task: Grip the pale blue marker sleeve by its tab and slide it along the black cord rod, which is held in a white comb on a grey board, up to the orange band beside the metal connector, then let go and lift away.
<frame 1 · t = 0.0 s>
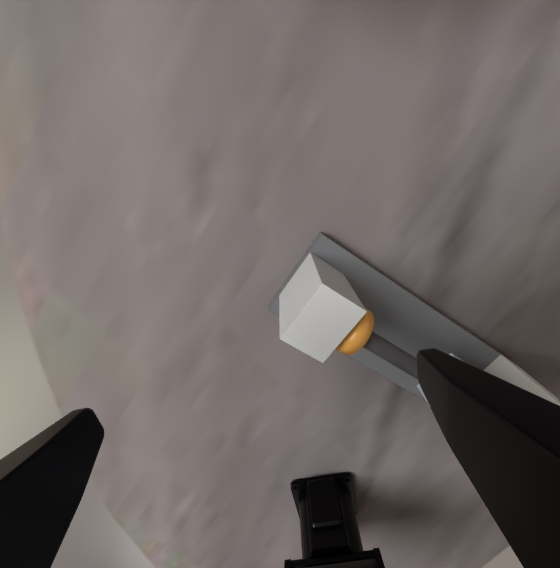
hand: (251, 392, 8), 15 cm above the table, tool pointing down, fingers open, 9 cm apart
cord board: (396, 334, 24), on the table
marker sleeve: (490, 424, 19), point 7 cm above the table, slide at -4.5 cm
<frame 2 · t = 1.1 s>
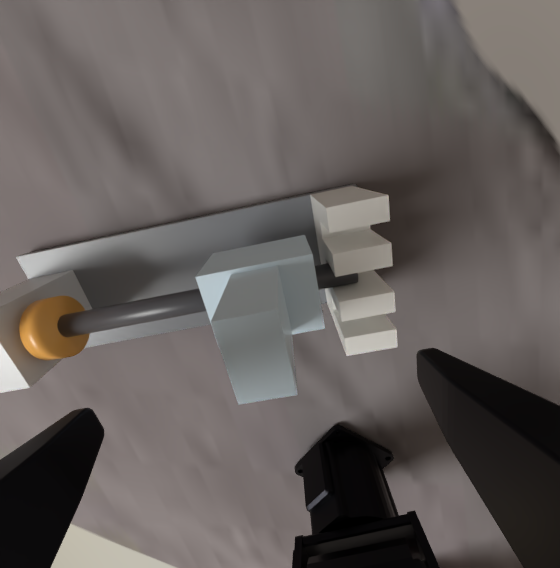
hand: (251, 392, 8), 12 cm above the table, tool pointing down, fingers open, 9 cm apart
cord board: (201, 271, 19), on the table
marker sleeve: (262, 305, 12), point 7 cm above the table, slide at -4.5 cm
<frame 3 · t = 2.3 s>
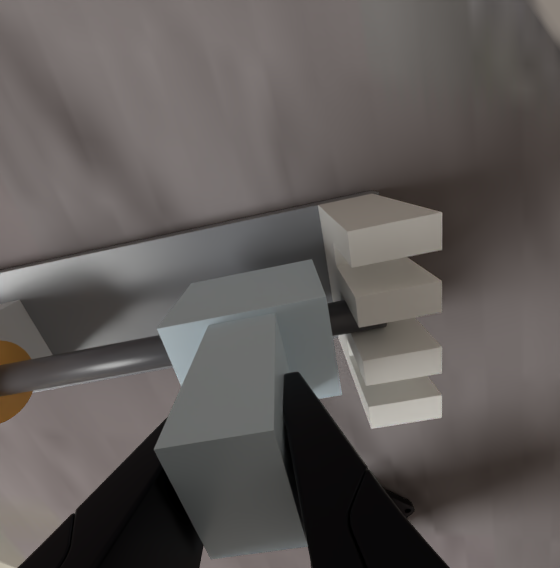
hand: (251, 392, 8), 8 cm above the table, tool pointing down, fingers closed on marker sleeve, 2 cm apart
cord board: (182, 298, 16), on the table
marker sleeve: (254, 367, 9), point 7 cm above the table, slide at -4.5 cm, touching gripper
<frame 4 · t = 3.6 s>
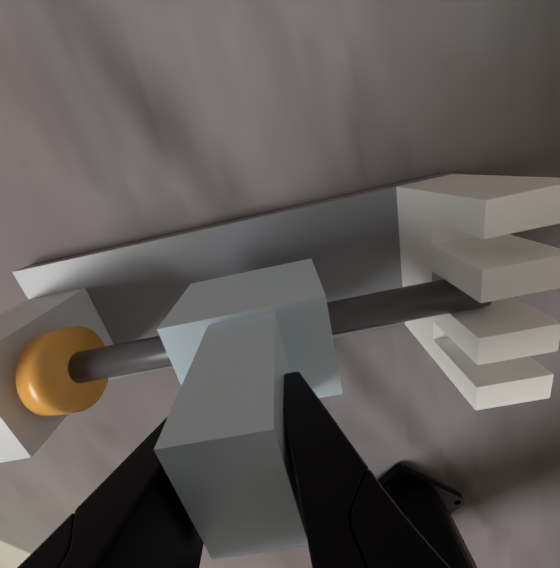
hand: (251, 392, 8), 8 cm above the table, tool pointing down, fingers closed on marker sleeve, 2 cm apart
cord board: (245, 286, 15), on the table
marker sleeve: (254, 367, 9), point 7 cm above the table, slide at -1.0 cm, touching gripper
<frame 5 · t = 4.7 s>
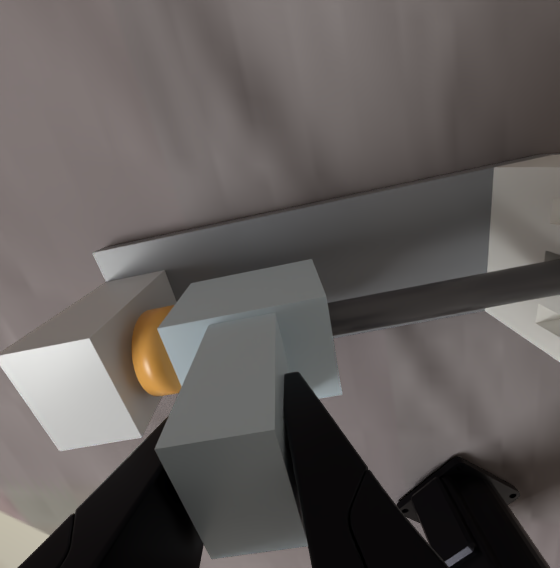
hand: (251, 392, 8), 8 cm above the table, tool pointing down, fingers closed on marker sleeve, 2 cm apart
cord board: (322, 271, 15), on the table
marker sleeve: (254, 367, 9), point 7 cm above the table, slide at 3.1 cm, touching gripper
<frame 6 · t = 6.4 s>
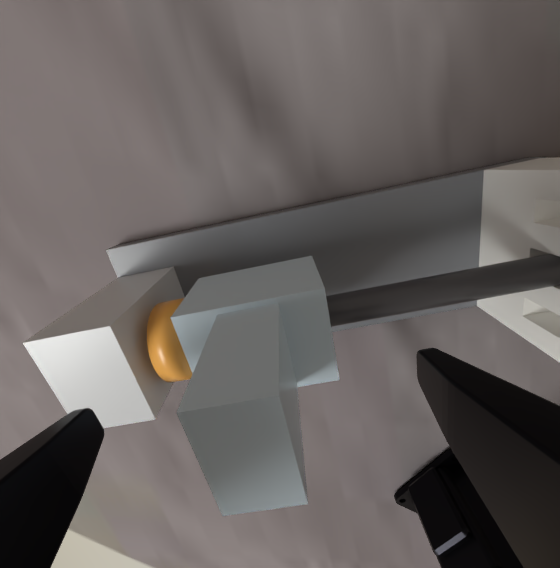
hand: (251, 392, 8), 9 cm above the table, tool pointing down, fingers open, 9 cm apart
cord board: (322, 267, 16), on the table
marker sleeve: (258, 353, 10), point 7 cm above the table, slide at 3.1 cm
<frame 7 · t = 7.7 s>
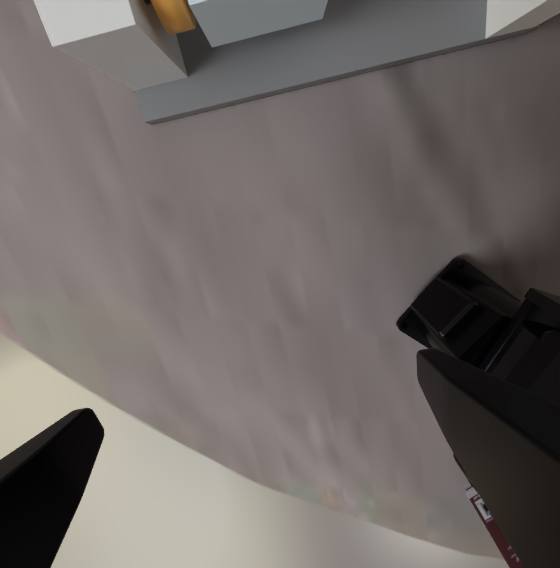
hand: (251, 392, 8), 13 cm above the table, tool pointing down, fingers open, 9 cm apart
cord board: (320, 2, 15), on the table
supplement box: (505, 492, 30), on the table
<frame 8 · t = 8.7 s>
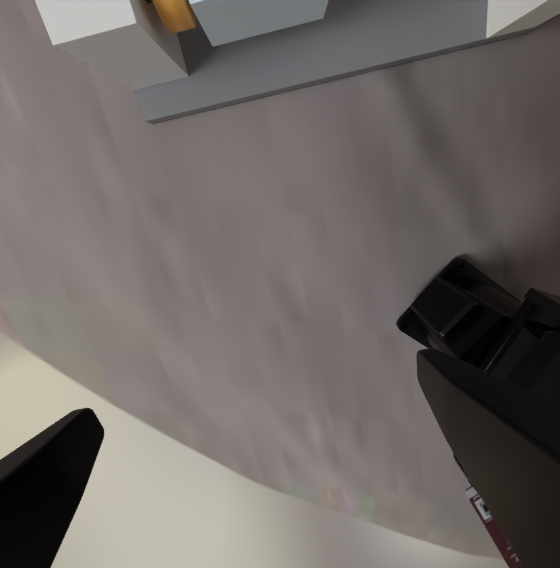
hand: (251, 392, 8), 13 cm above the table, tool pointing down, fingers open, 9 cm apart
cord board: (321, 1, 15), on the table
supplement box: (505, 492, 30), on the table
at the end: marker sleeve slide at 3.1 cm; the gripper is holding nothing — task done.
